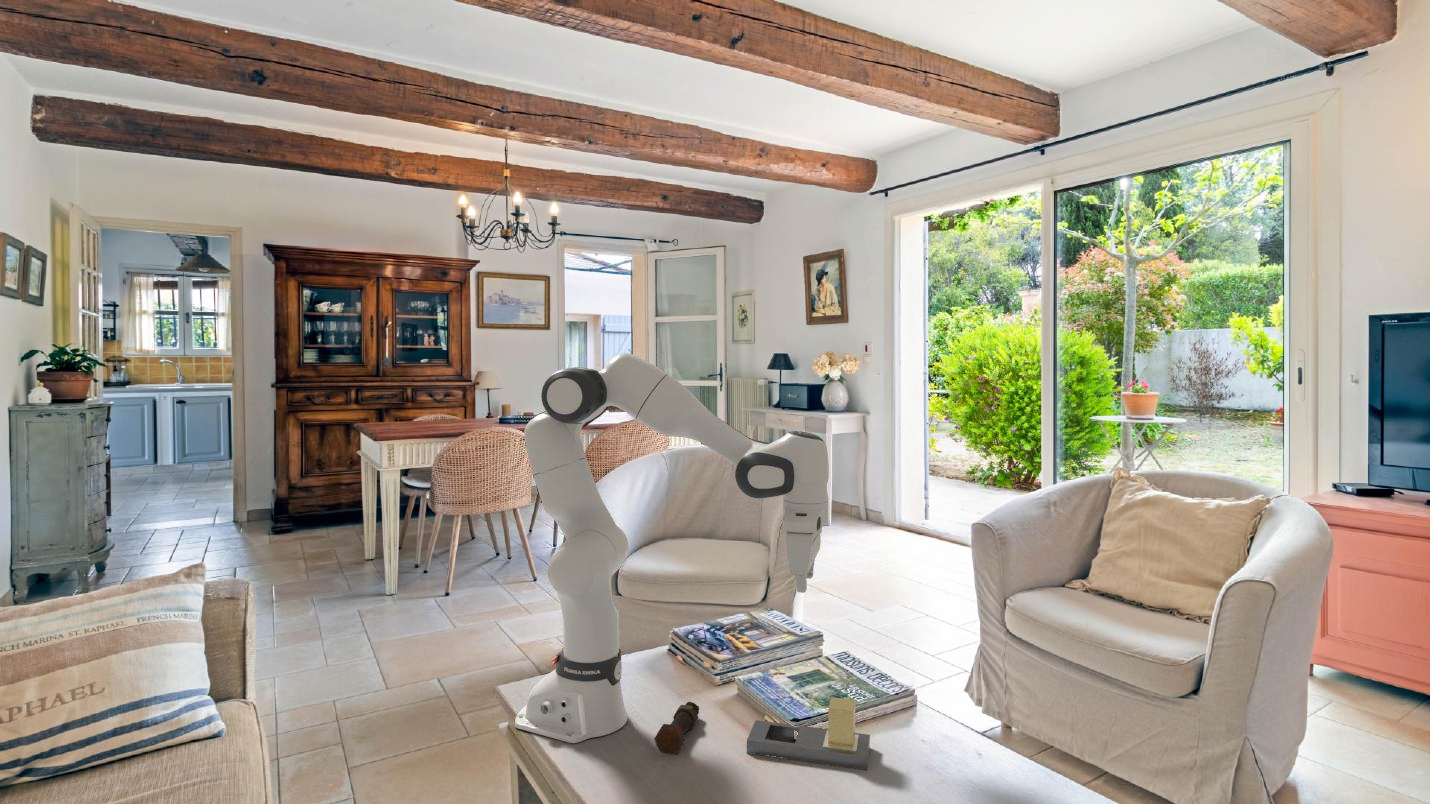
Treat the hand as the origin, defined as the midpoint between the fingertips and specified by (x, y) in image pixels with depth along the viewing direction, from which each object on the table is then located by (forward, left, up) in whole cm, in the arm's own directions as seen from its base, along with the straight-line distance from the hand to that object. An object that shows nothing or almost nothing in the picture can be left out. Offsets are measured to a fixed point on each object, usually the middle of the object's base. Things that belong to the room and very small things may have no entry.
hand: (805, 584), depth 146 cm
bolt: (-23, -8, -30) cm, 38 cm away
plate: (+2, -8, -29) cm, 30 cm away
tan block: (+8, -8, -26) cm, 29 cm away
